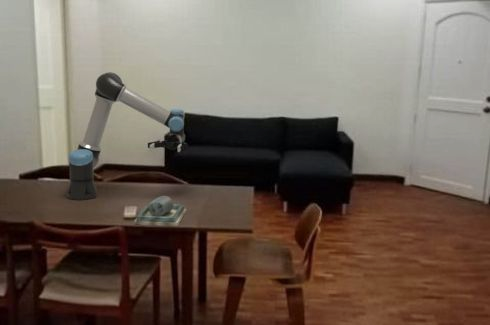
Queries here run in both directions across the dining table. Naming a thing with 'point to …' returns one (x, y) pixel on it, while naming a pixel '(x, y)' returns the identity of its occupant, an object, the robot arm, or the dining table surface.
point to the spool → (160, 206)
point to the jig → (165, 220)
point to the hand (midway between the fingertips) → (164, 148)
